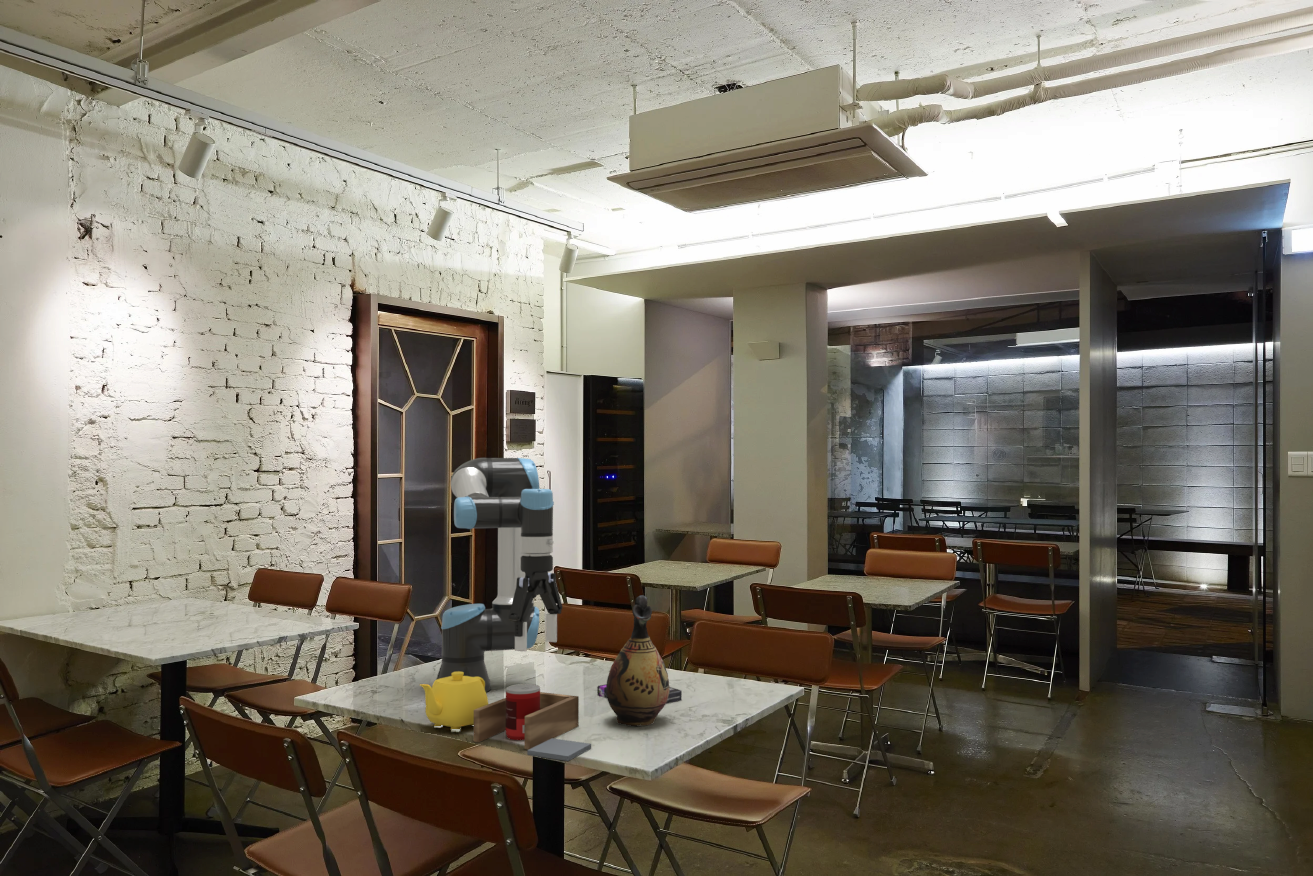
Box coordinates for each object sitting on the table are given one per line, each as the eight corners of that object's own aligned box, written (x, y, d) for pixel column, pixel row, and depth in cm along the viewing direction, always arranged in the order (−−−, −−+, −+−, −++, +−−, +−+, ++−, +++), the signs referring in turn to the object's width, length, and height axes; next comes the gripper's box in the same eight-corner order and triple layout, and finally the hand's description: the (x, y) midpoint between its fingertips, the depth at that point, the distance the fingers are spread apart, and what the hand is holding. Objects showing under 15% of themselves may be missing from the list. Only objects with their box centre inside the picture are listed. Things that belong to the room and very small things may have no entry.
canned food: (545, 733, 212) (545, 684, 213) (529, 742, 205) (530, 692, 205) (516, 730, 215) (516, 682, 215) (499, 739, 207) (499, 689, 208)
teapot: (503, 723, 221) (504, 669, 221) (438, 742, 205) (439, 684, 205) (465, 714, 229) (465, 663, 230) (399, 732, 213) (400, 676, 213)
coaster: (527, 755, 195) (527, 750, 195) (552, 742, 204) (552, 738, 204) (568, 761, 191) (568, 756, 191) (591, 748, 200) (591, 743, 200)
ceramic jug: (672, 729, 215) (672, 600, 217) (606, 730, 214) (607, 601, 215) (666, 711, 232) (665, 592, 233) (605, 712, 231) (605, 592, 232)
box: (596, 698, 249) (641, 711, 234) (596, 685, 250) (641, 697, 235) (637, 690, 258) (682, 702, 243) (637, 677, 258) (682, 688, 243)
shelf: (473, 741, 205) (473, 709, 206) (525, 719, 224) (525, 690, 225) (530, 749, 199) (530, 717, 199) (578, 726, 218) (578, 696, 218)
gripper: (522, 558, 202) (521, 656, 201) (576, 551, 225) (576, 639, 224) (493, 557, 205) (492, 653, 204) (549, 550, 228) (549, 637, 227)
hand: (536, 646), depth 214 cm, fingers open, 13 cm apart
